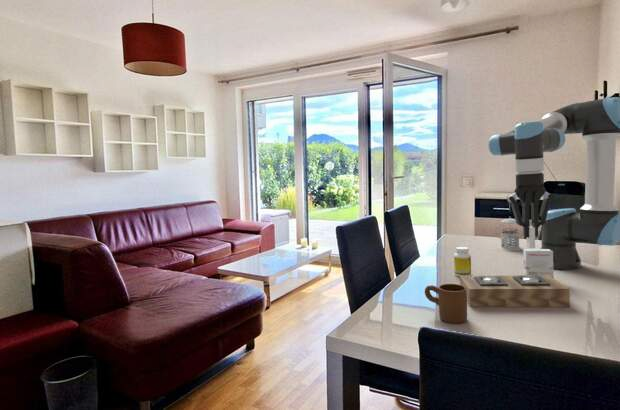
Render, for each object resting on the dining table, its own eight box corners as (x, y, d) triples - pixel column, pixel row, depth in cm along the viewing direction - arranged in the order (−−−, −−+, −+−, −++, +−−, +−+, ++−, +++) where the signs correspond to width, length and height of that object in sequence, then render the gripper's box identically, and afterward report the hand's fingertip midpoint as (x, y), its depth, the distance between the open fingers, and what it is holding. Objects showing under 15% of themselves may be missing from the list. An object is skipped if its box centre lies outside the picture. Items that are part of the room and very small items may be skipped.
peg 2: (535, 293, 121) (535, 276, 120) (541, 297, 116) (541, 280, 116) (520, 293, 121) (520, 276, 121) (525, 297, 117) (525, 280, 117)
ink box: (549, 279, 136) (549, 248, 135) (553, 284, 131) (553, 251, 130) (523, 279, 139) (523, 248, 137) (526, 283, 134) (526, 251, 133)
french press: (525, 250, 181) (525, 199, 179) (501, 251, 181) (500, 200, 179) (515, 246, 191) (514, 197, 189) (492, 247, 191) (491, 199, 189)
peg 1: (495, 293, 123) (495, 276, 122) (500, 297, 119) (499, 280, 118) (481, 293, 124) (481, 277, 123) (485, 297, 119) (484, 281, 119)
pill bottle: (472, 277, 144) (472, 249, 143) (456, 277, 146) (455, 249, 145) (469, 272, 151) (468, 246, 150) (453, 273, 152) (452, 246, 151)
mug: (420, 318, 110) (419, 287, 109) (430, 309, 116) (429, 280, 115) (462, 326, 102) (461, 293, 101) (470, 317, 108) (469, 285, 107)
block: (548, 291, 124) (548, 273, 124) (569, 306, 111) (569, 286, 110) (460, 291, 130) (459, 274, 129) (469, 306, 116) (469, 287, 115)
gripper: (547, 170, 118) (548, 243, 120) (502, 173, 120) (504, 245, 122) (558, 171, 110) (559, 249, 113) (510, 174, 113) (512, 250, 115)
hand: (530, 247), depth 118 cm, fingers closed
